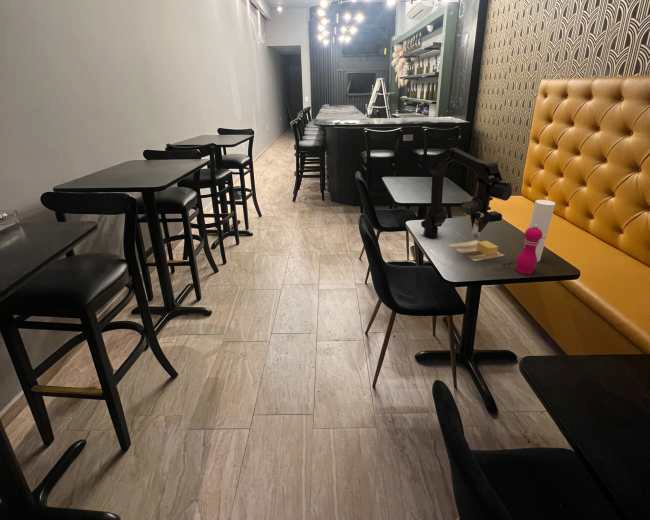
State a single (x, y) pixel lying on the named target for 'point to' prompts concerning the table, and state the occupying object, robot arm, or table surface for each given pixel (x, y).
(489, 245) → the mustard yellow box
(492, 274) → the table surface
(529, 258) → the pink bowling pin
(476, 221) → the bronze metal canister
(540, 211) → the cylindrical container
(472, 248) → the board
